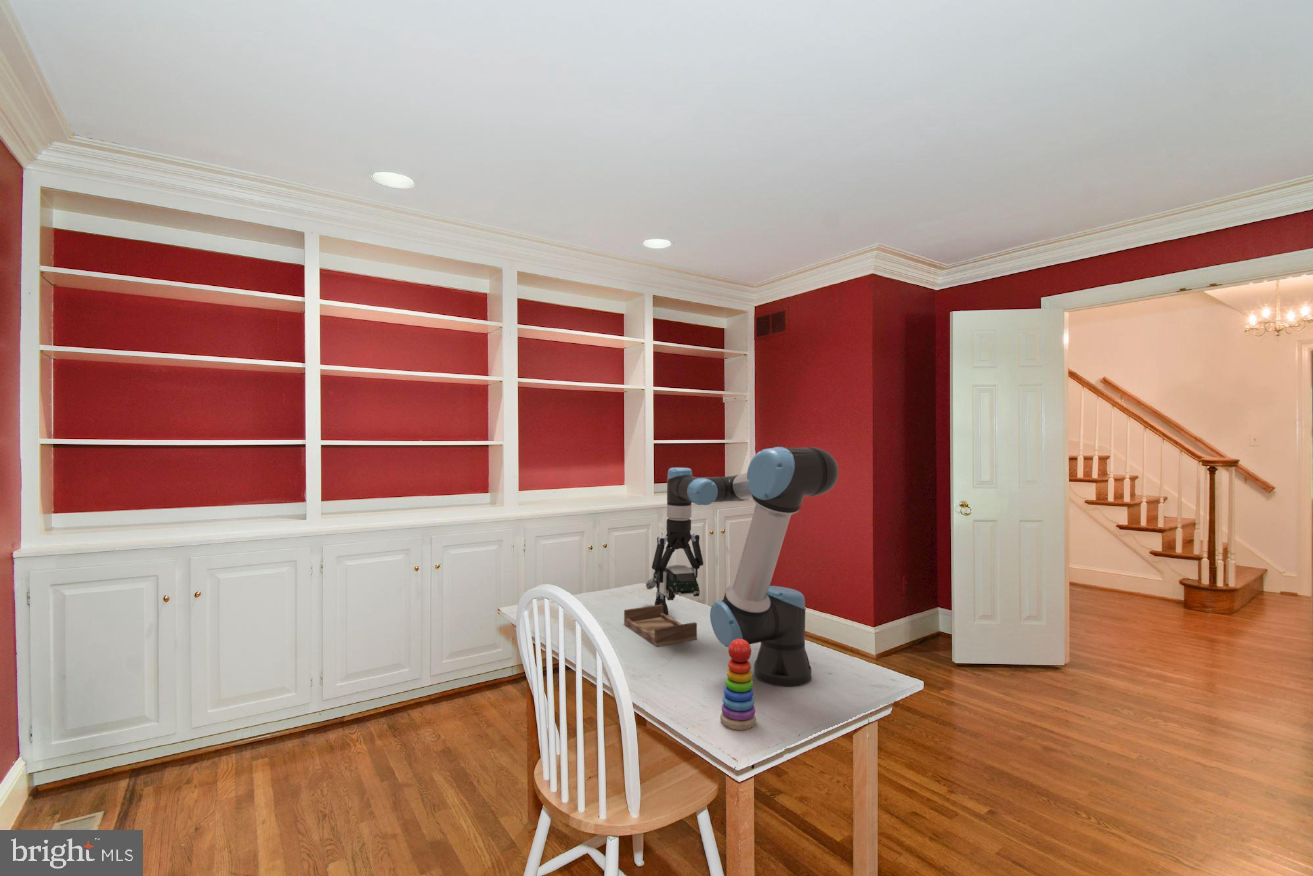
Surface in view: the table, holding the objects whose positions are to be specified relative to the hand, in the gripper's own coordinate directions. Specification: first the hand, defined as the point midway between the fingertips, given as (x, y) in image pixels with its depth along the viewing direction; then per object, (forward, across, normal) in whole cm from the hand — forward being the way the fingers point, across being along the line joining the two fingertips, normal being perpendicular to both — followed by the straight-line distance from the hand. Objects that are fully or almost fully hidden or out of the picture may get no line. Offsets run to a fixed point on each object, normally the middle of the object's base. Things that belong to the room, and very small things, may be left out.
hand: (677, 590), depth 181 cm
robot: (+18, -11, -30) cm, 37 cm away
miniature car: (+1, 0, 0) cm, 1 cm away
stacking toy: (+15, +12, +49) cm, 53 cm away
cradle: (+17, -1, -12) cm, 21 cm away
